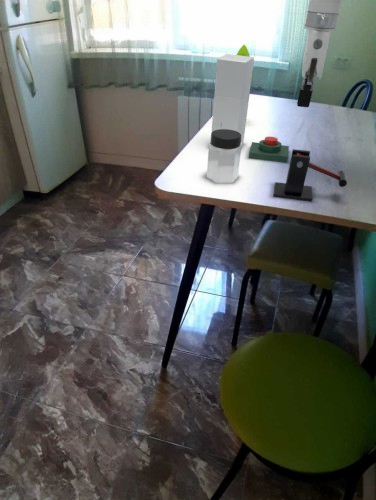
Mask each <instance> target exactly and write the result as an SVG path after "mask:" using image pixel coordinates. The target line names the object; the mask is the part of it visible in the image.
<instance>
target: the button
mask: <svg viewBox="0 0 376 500" xmlns="http://www.w3.org/2000/svg"><path fill="white" fill-rule="evenodd" d="M264 140H265V141H264V144H265V145H269V146H276V145H277V141H279V138H278V137H276V136H265V137H264Z"/></svg>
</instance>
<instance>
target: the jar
mask: <svg viewBox="0 0 376 500" xmlns="http://www.w3.org/2000/svg"><path fill="white" fill-rule="evenodd" d="M211 132H212V131H211ZM242 146H243V145H241V134H240V133H239V132H237V131H234V130H228V129H219V130H215V131H213V132H212V133H210V143H209V144H208V153H207V165H206V166H207V167H206V178H208V179H209V180H210V181H212V182H213V183H215V184H232V183H234V182H235V181H236V180H237V179H238V178H239V169H240V161H241V153H242Z"/></svg>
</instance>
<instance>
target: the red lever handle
mask: <svg viewBox="0 0 376 500" xmlns="http://www.w3.org/2000/svg"><path fill="white" fill-rule="evenodd" d="M296 155H301V156H304V155H302V154H299V153H297V154H296ZM308 169H311V170H313V171H316V172H318V173H321V174H322V175H325V176H328V177H330V178H333V179H335V180H337V183H338V187H340V188H344V187H346V186H347V184H348V183H347V182H348V181H347V177H346V172H345V171H344V170H340V171H338V172H334V171H331V170H329V169H328V168H325V167H323V166H320V165H318V164H316V163H313V162H311V161H310V162H309V166H308Z"/></svg>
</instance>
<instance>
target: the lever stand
mask: <svg viewBox="0 0 376 500" xmlns="http://www.w3.org/2000/svg"><path fill="white" fill-rule="evenodd" d="M297 153H299V154H302V155H304V156H301V155H296V154H297ZM310 155H311V151H310V150H306V149H305V150H304V149H294V148H292V151H291V155H290V160H289V166H288V171H287V175H286V180H285V182H277V181H275V182H274V187H273V188H274V189H273V196H272V197H273V198H277V199H287V200H295V201H303V202H313V186H312V185H305V182H306V178H307V174H308V169H309V167H308V166H309V162H311V156H310Z"/></svg>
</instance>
